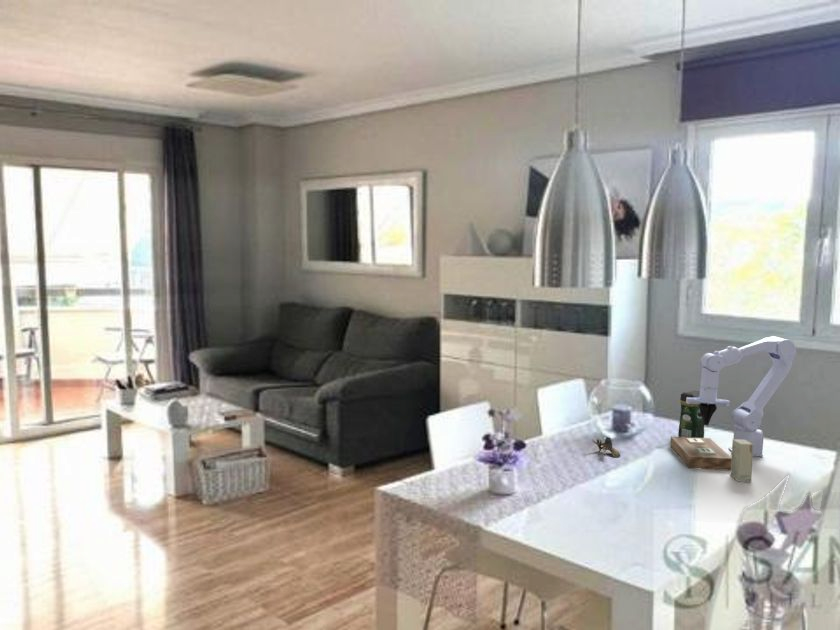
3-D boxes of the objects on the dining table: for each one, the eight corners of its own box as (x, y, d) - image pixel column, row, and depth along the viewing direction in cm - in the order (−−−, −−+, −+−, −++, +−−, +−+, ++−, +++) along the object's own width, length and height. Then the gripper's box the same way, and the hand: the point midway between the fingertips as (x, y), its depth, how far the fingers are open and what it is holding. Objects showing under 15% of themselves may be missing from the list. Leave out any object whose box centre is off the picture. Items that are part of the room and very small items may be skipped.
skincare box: (751, 482, 224) (754, 444, 223) (738, 481, 224) (740, 444, 223) (743, 475, 230) (745, 438, 229) (729, 475, 230) (732, 438, 229)
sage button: (710, 457, 244) (710, 447, 243) (714, 462, 239) (715, 452, 239) (695, 457, 244) (696, 447, 244) (699, 461, 239) (700, 451, 239)
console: (709, 448, 259) (709, 438, 258) (731, 470, 235) (732, 458, 235) (670, 446, 260) (670, 436, 260) (688, 468, 236) (689, 456, 236)
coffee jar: (688, 434, 278) (692, 387, 276) (707, 439, 272) (710, 391, 270) (674, 437, 272) (677, 390, 270) (692, 442, 266) (695, 394, 264)
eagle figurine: (588, 450, 250) (609, 452, 243) (594, 431, 253) (614, 433, 245) (601, 458, 254) (622, 461, 247) (607, 440, 256) (627, 442, 249)
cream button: (699, 447, 256) (700, 438, 255) (703, 451, 251) (704, 441, 250) (685, 446, 256) (686, 437, 256) (689, 450, 251) (690, 441, 251)
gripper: (691, 388, 248) (688, 425, 250) (733, 390, 247) (730, 428, 248) (685, 384, 255) (682, 420, 257) (727, 386, 254) (723, 423, 255)
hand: (705, 424), depth 253 cm, fingers closed
